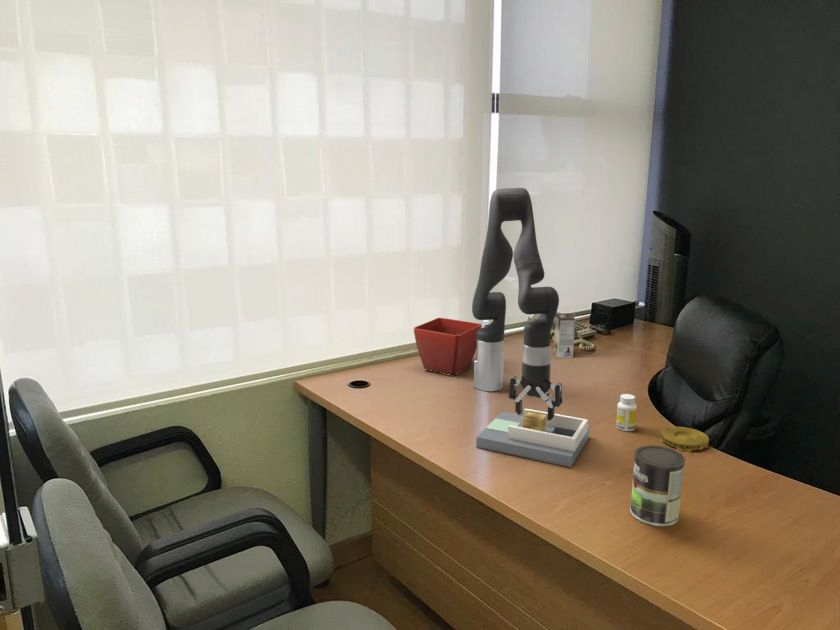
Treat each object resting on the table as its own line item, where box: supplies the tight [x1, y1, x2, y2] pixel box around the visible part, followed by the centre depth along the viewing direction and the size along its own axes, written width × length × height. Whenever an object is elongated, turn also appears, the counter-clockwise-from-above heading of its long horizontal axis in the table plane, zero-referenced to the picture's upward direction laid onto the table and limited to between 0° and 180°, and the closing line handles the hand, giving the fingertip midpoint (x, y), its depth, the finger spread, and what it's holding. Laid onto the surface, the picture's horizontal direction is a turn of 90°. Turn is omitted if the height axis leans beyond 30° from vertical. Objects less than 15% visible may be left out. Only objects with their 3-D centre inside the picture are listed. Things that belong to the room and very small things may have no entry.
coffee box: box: [553, 312, 576, 359], centre depth 249 cm, size 9×6×16 cm
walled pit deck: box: [475, 408, 591, 468], centre depth 174 cm, size 26×20×6 cm
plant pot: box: [413, 317, 482, 376], centre depth 234 cm, size 19×19×17 cm
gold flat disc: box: [660, 426, 710, 453], centre depth 174 cm, size 12×12×2 cm
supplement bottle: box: [615, 393, 638, 432], centre depth 182 cm, size 5×5×10 cm
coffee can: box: [629, 444, 686, 528], centre depth 137 cm, size 10×10×14 cm
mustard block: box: [523, 412, 546, 432], centre depth 173 cm, size 5×5×4 cm
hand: (534, 416), depth 173 cm, fingers open, 8 cm apart
